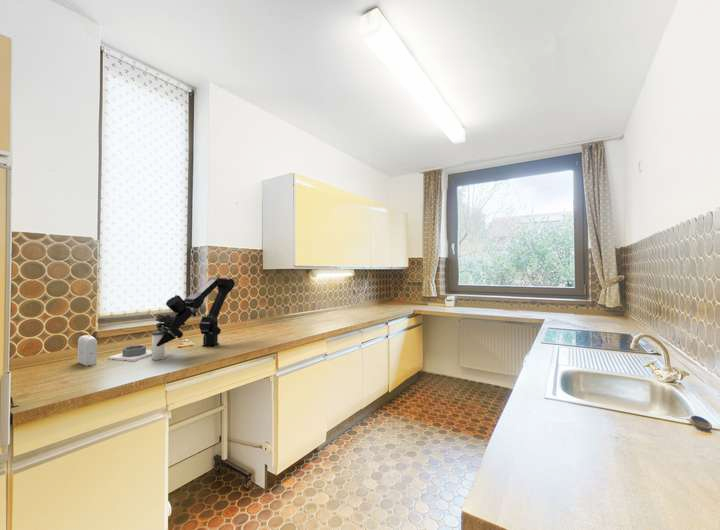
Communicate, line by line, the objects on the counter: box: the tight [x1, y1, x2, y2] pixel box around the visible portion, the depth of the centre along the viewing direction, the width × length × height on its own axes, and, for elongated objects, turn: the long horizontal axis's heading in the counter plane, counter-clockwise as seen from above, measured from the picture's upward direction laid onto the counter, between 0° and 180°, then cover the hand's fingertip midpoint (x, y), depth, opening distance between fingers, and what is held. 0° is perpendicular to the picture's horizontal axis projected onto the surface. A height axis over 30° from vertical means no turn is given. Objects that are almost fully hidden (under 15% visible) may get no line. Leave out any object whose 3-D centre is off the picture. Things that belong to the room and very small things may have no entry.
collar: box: [107, 344, 152, 362], centre depth 152 cm, size 14×14×4 cm
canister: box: [151, 330, 166, 361], centre depth 148 cm, size 5×5×12 cm
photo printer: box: [77, 334, 98, 367], centre depth 140 cm, size 10×4×12 cm, turn 60°
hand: (154, 345), depth 147 cm, fingers closed on canister, 5 cm apart
